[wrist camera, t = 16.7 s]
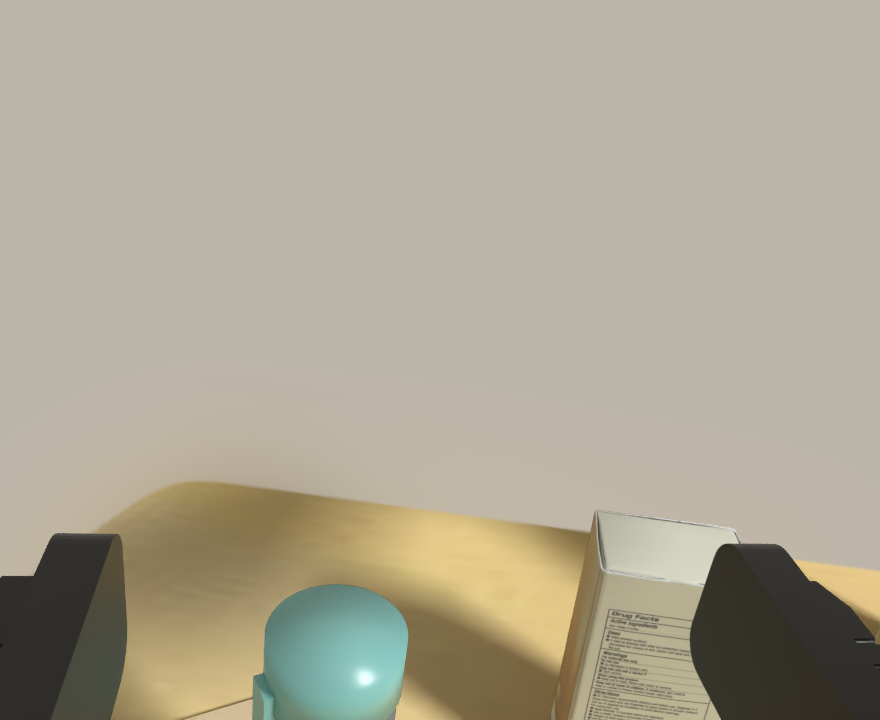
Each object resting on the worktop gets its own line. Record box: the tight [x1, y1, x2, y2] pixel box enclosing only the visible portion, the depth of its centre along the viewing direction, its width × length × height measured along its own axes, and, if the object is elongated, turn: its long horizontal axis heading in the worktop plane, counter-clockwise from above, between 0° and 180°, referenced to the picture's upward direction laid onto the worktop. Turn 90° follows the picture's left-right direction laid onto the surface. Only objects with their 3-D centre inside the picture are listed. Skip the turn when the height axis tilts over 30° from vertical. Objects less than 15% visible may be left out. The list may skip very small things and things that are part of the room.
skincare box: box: [551, 510, 742, 720], centre depth 35 cm, size 6×4×12 cm
